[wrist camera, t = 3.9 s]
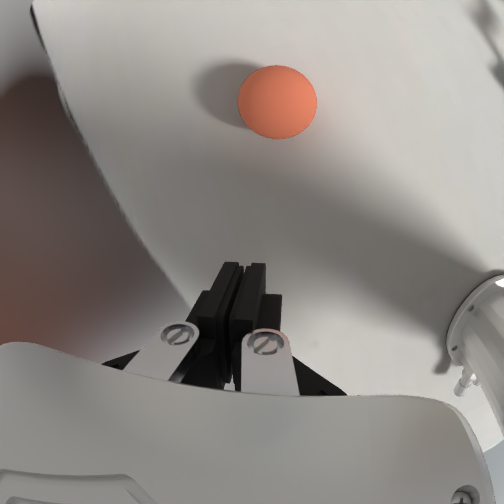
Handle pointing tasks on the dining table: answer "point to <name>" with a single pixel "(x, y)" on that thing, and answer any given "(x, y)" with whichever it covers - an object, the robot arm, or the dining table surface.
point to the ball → (277, 102)
